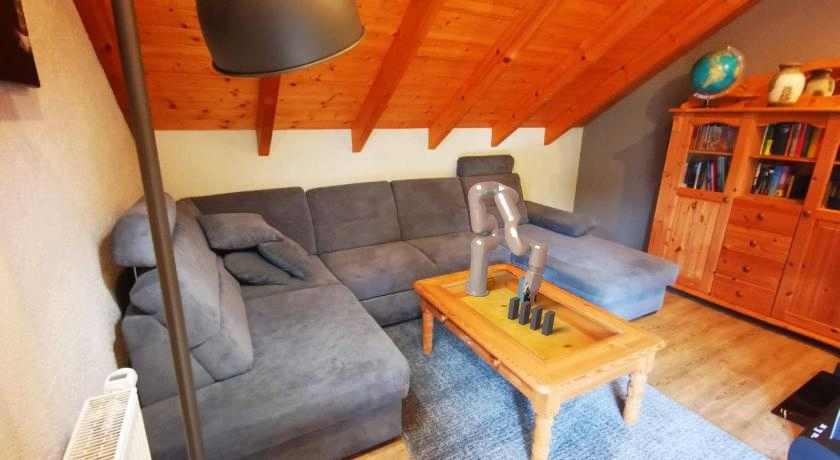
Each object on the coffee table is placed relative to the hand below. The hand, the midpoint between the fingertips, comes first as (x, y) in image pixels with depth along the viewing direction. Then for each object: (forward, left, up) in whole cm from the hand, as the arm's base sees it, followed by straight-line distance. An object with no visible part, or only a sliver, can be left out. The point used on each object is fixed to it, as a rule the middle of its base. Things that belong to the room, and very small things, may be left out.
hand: (529, 302), depth 197 cm
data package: (-9, +10, -6) cm, 15 cm away
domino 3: (0, 0, -3) cm, 3 cm away
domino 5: (+17, -12, -5) cm, 21 cm away
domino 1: (-1, -12, -5) cm, 13 cm away
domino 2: (+5, -12, -5) cm, 14 cm away
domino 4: (+11, -12, -5) cm, 17 cm away
